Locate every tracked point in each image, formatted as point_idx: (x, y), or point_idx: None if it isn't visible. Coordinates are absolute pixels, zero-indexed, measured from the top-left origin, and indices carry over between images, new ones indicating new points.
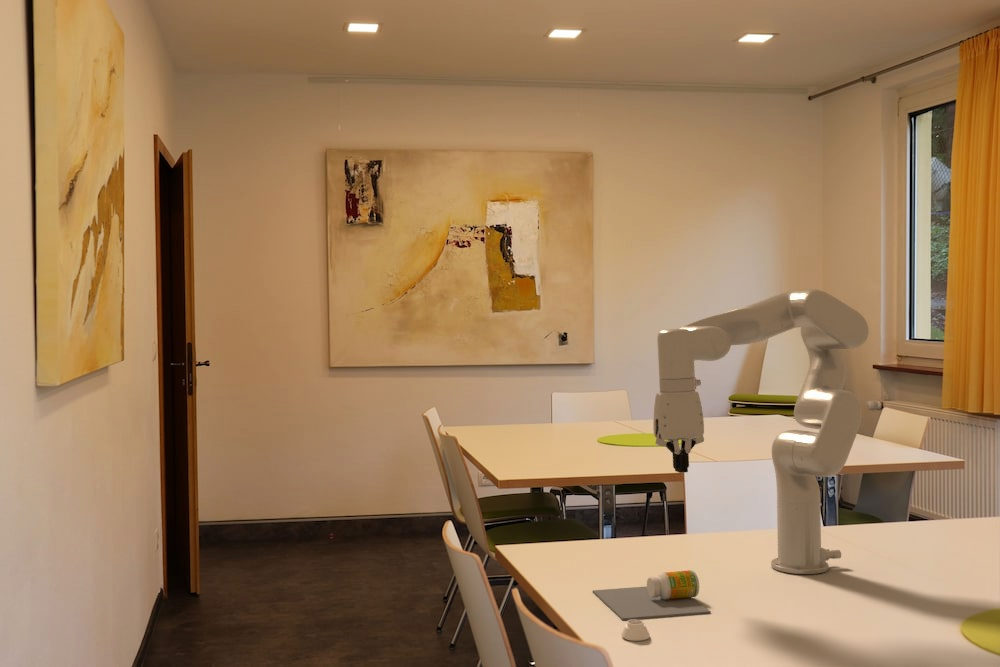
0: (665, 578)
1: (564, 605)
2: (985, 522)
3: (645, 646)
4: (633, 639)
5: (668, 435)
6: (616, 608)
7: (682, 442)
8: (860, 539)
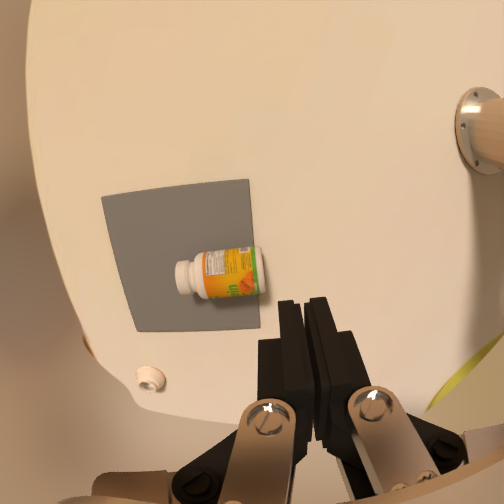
0: (202, 297)
1: (67, 257)
2: None
3: (159, 394)
4: (148, 385)
5: None
6: (130, 295)
7: (374, 471)
8: None
